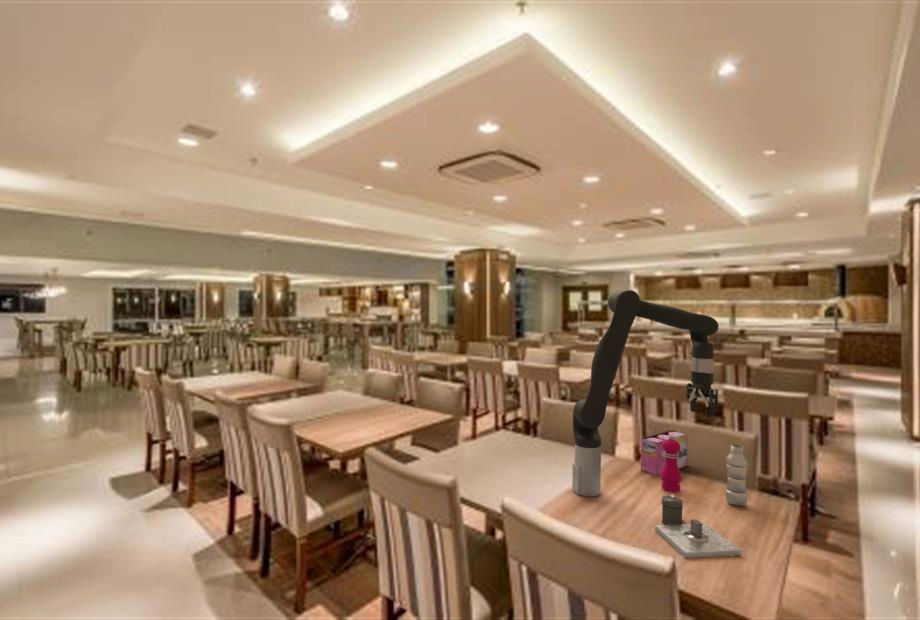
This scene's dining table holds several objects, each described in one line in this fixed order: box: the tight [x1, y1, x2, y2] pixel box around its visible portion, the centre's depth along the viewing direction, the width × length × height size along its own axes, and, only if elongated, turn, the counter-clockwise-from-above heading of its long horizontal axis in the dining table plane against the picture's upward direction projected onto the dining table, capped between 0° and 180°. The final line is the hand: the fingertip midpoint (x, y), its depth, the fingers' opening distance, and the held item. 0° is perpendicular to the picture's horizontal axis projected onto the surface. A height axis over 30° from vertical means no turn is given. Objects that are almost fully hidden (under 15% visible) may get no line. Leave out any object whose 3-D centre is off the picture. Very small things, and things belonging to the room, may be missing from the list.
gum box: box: [640, 429, 689, 476], centre depth 201 cm, size 24×8×14 cm, turn 125°
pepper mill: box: [659, 435, 682, 493], centre depth 177 cm, size 7×7×20 cm
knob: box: [661, 494, 684, 525], centre depth 151 cm, size 6×6×7 cm
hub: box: [654, 518, 742, 559], centre depth 138 cm, size 16×16×6 cm
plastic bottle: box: [724, 444, 748, 507], centre depth 164 cm, size 6×7×20 cm
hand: (701, 414), depth 177 cm, fingers open, 8 cm apart
